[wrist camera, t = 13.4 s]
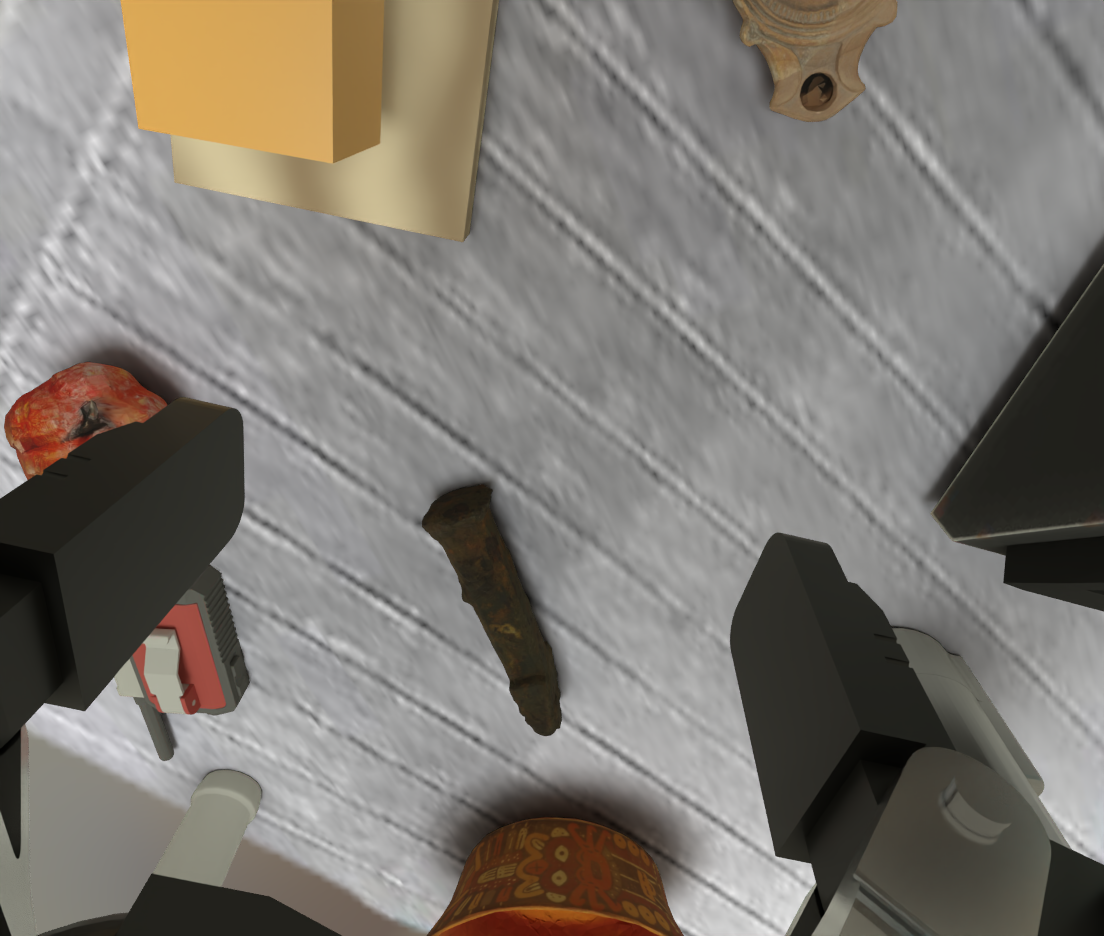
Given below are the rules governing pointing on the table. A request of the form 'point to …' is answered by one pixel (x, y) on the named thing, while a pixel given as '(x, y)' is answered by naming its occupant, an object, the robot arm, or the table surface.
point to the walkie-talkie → (187, 661)
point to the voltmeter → (1044, 469)
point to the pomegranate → (74, 412)
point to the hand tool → (498, 600)
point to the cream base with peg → (386, 132)
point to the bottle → (211, 828)
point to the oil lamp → (813, 49)
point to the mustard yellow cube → (260, 72)
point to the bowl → (558, 885)
